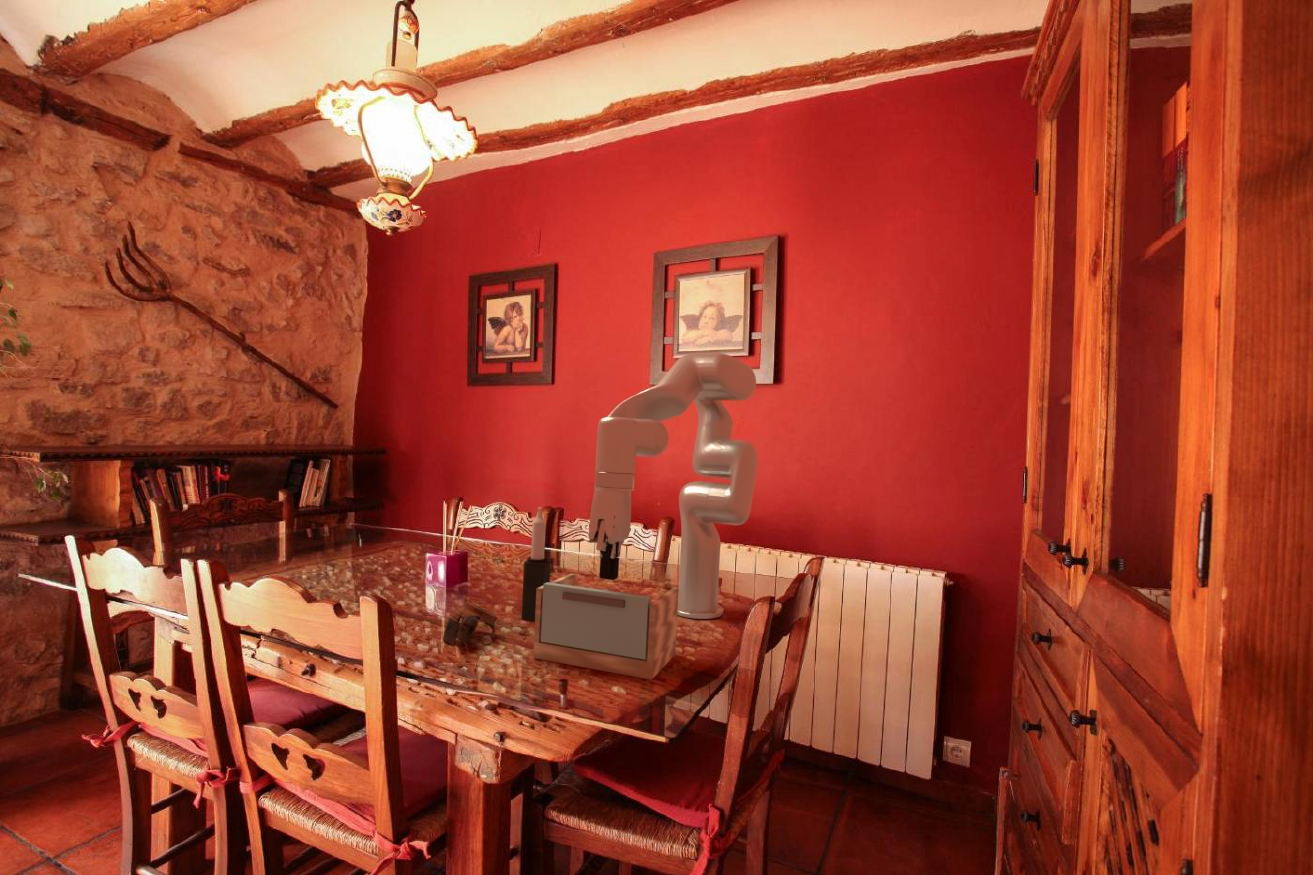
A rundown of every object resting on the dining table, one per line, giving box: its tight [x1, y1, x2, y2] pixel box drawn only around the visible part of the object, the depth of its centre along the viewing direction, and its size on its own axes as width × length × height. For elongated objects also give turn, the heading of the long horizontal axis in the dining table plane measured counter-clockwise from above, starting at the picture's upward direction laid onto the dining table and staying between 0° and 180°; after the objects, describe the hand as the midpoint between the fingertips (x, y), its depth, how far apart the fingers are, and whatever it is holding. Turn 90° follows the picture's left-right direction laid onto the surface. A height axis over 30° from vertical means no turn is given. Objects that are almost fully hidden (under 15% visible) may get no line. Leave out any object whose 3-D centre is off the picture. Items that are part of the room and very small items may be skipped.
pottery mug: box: [442, 601, 498, 646], centre depth 124 cm, size 12×10×8 cm
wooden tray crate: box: [532, 573, 679, 680], centre depth 119 cm, size 14×23×13 cm, turn 71°
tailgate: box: [541, 582, 652, 659], centre depth 113 cm, size 2×21×11 cm, turn 71°
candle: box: [520, 506, 552, 622], centre depth 141 cm, size 5×5×25 cm
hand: (608, 578), depth 119 cm, fingers closed
